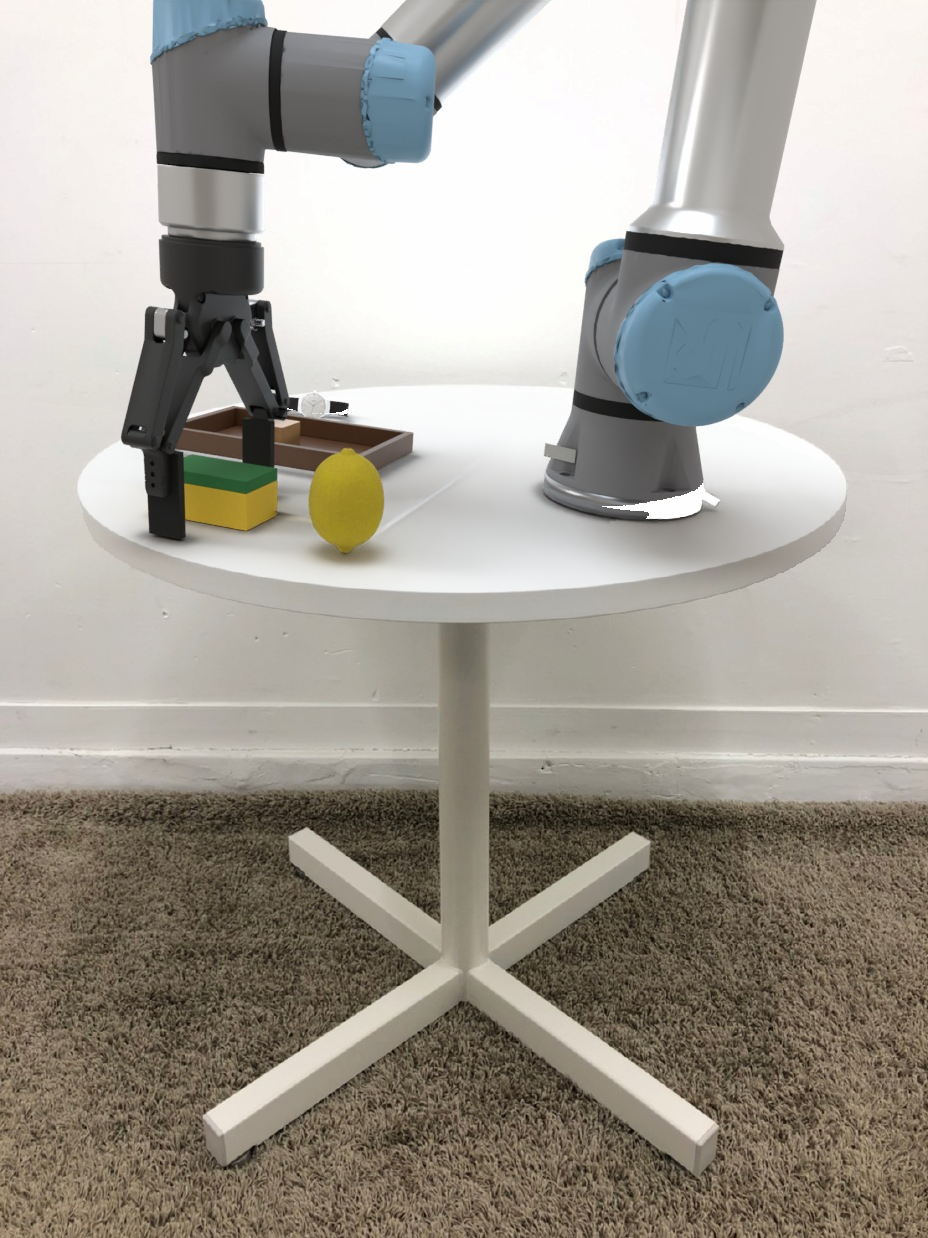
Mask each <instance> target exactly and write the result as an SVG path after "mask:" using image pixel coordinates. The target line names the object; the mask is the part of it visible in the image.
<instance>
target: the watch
mask: <svg viewBox="0 0 928 1238" xmlns="http://www.w3.org/2000/svg"><path fill="white" fill-rule="evenodd" d="M349 407H350V403H349V402H343V401H336V400H330V399H327V398H326V397H325V396H324V395H322V394H321V393H320V392H317V389H313V391H311V392H308V393H306V394H305V395H304V396H302V397H301V396H300V397H295V396H294V397H293V396H291V397H290V396H289V406H288V408H289V409H293V410H296V411H295V412H298V411H301V412H300V413H301V414H302V416H305V417H312V418H319V419H323V418H324V417H325V416H330V414H325V413H336V412H342V411H344V410H346V409H348V410H349ZM287 412H292V411H291V410H287ZM302 412H303V413H302ZM312 413H318V414H312ZM320 413H322V414H320ZM323 414H324V415H323ZM348 415H349V412H348V413H347V414H344V415H339V416H340V417H345V418H348Z"/></svg>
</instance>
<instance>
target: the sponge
mask: <svg viewBox="0 0 928 1238" xmlns="http://www.w3.org/2000/svg"><path fill="white" fill-rule="evenodd" d="M184 490H185V521H190V522H191V521H192V522H197V523H202V524H207V525H213V526H218V527H224V528H229V529H234V530H239V531H245V532H247V531H250V530H251V529H253V528H255V527H257V526H259V525H261V524H263V523H264V522H266V521H269V520H271V519H272V518H275V517H276V516H278V468H277V467H274V468H272V467H266V466H260V465H254V464H248V463H242V461H235V460H228V459H222V458H217V457H211V456H205V455H199V454H190V455H187V456H184Z"/></svg>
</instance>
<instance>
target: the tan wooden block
mask: <svg viewBox="0 0 928 1238" xmlns="http://www.w3.org/2000/svg"><path fill="white" fill-rule="evenodd" d="M274 422H275V442H278V443H284V444H290V445H297V446H298V445H300V421H295V420H288V419H286V420H284V421H281V420H275V419H274Z"/></svg>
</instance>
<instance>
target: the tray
mask: <svg viewBox="0 0 928 1238" xmlns="http://www.w3.org/2000/svg"><path fill="white" fill-rule="evenodd" d="M246 417H248V418H253V416H250V415H249V414H248V412H247V410H246V408H245V406H237V405H231V406H228V407H224V408H221V409H217V410H214V411H210V412H207V413H203V414H199V415H196V416H192V417H188V419H187V421H186V424H185V426H184V428H183V431H182V433H181V436H180V438H179V441H178V443H177V446H176V448H175V450H179V451H180V450H181V451H187V452H193V453H198V454H204V455H205V454H206V455H211V456H216V457H217V456H218V457H223V458H229V459H235V460H242V419H243V418H246ZM286 419H288V420H295V421H300V445H298V446H297V445H290V444H284V443H278V442H275V446H274V466H278V467H285V468H290V469H297V470H303V471H309V472H313V473H315V471H316V469H317V468H318V466H319V465H320V464H321V463H322V462H323V461H324V460H325V459H327V458H328V457H330V456H331V455H334V454H336V453H340V452H341V451H342V450H343V449H344V448H351V449H353V450H354V452H355V453H357V454H359V455H361V456H363V457H365V458H366V459H367V460H369V461H370V462H371V463H372V464H373V465H374V467H375V468H376V470H377V471H378V470H380V469H382V468H385V467H386V466H388V465H390V464H392V463H393V462H396V461H398V460H399V459H401V458H403V457H405V456H407V455H409V454H411V453H412V452H413V447H414V432H413V431H406V430H401V429H400V430H399V429H393V428H387V427H380V426H374V425H373V426H372V425H366V424H358V423H352V422H346V421H338V420H332V419H325V418H312V417H305V416H304V415H299V414H291V413H287V418H286ZM164 433H165V432H164V431H163V436H164Z"/></svg>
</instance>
